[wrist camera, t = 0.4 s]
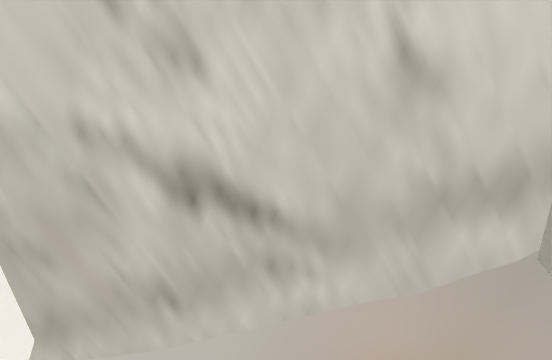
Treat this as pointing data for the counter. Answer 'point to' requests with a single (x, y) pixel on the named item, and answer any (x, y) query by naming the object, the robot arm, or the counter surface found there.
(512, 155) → the counter surface
